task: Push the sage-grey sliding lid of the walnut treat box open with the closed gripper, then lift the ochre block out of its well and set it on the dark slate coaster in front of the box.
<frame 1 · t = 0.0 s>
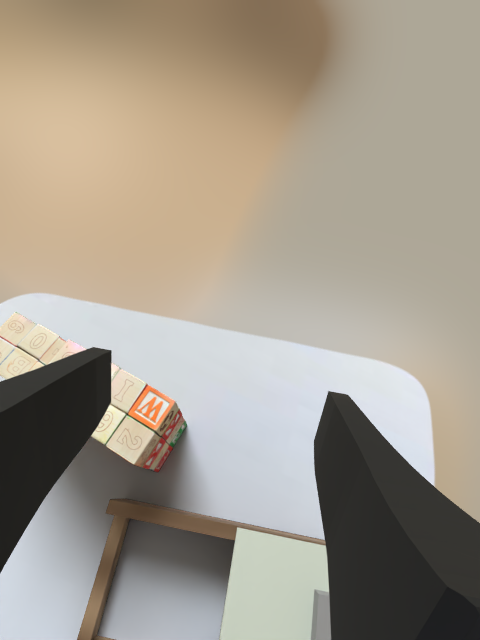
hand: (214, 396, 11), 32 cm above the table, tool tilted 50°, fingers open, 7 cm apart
lid: (277, 627, 29), point 7 cm above the table, slide at 0.0 cm
stack of blocks: (103, 403, 43), on the table
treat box: (209, 590, 35), on the table
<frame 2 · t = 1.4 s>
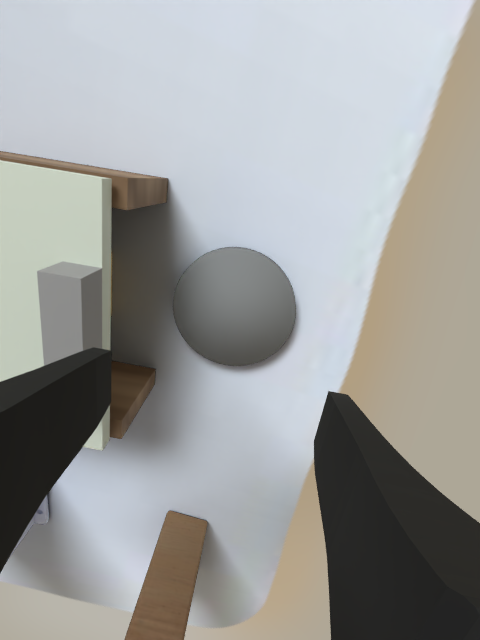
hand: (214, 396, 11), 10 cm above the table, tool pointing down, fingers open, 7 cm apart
wooden block: (181, 539, 29), on the table
coaster: (235, 306, 21), on the table
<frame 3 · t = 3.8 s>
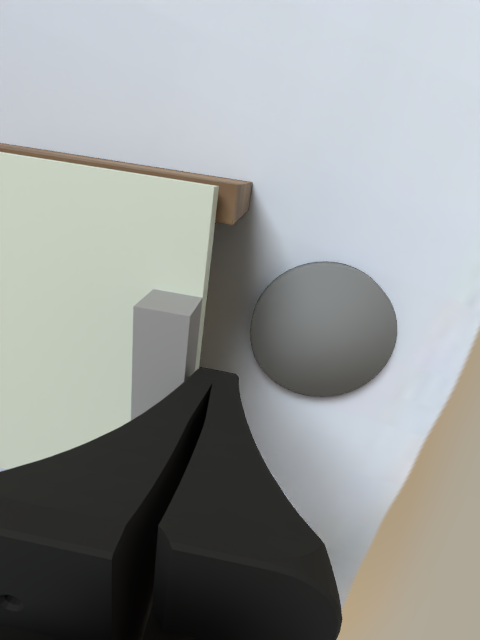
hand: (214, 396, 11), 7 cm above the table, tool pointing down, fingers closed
lid: (63, 360, 12), point 7 cm above the table, slide at 0.0 cm, touching gripper
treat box: (30, 278, 19), on the table
coaster: (320, 329, 18), on the table
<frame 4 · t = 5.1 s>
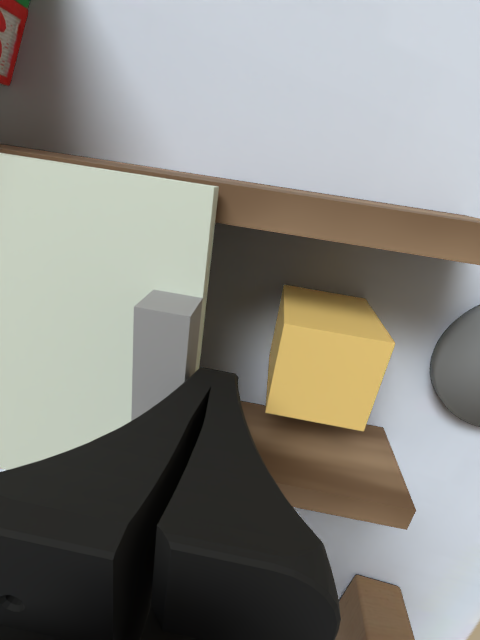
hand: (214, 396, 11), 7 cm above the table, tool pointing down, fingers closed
lid: (64, 360, 12), point 7 cm above the table, slide at 9.3 cm, touching gripper
wooden block: (359, 602, 26), on the table
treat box: (200, 308, 18), on the table
ochre block: (314, 327, 18), on the table
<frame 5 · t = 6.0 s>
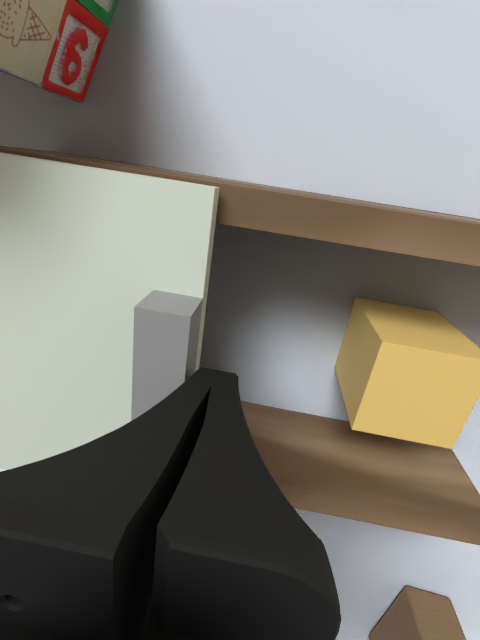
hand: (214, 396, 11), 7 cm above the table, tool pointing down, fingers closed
lid: (64, 360, 12), point 7 cm above the table, slide at 12.8 cm, touching gripper
wooden block: (406, 613, 26), on the table
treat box: (267, 320, 18), on the table
ochre block: (383, 340, 18), on the table
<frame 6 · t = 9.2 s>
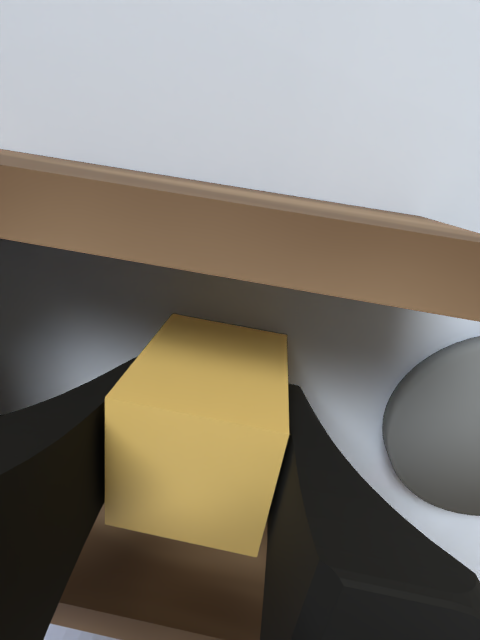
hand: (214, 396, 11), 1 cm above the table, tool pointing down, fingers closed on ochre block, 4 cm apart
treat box: (63, 344, 13), on the table
ochre block: (221, 373, 13), on the table, touching gripper
when the fingers open (4 cm above the table, at t = 12.8 s): ochre block drops 2 cm, resting on coaster.
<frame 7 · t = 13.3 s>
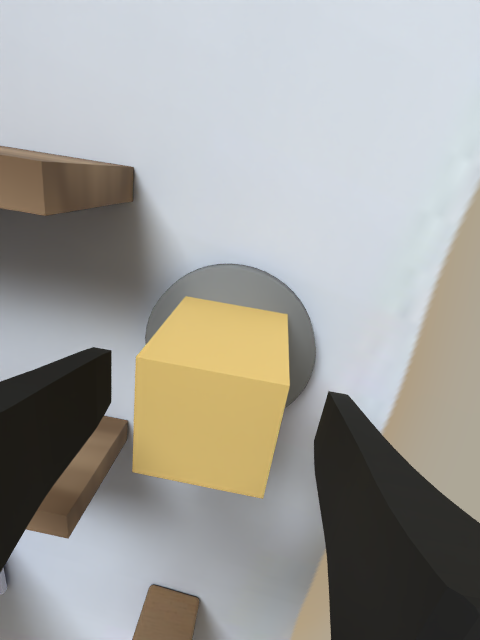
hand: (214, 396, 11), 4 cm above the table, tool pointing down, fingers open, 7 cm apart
wooden block: (167, 614, 24), on the table
coaster: (231, 343, 15), on the table
ochre block: (229, 350, 14), point 1 cm above the table, touching coaster
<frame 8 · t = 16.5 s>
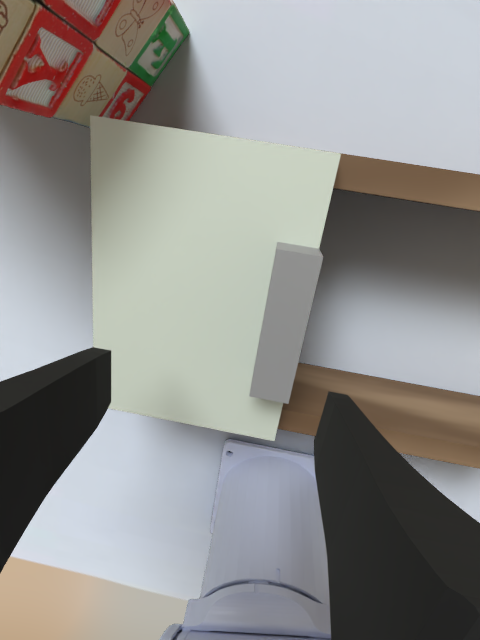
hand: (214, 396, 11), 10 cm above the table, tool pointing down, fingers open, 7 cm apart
lid: (193, 304, 14), point 7 cm above the table, slide at 12.9 cm
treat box: (337, 287, 20), on the table
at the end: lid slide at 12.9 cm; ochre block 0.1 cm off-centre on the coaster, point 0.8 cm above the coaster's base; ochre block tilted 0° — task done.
